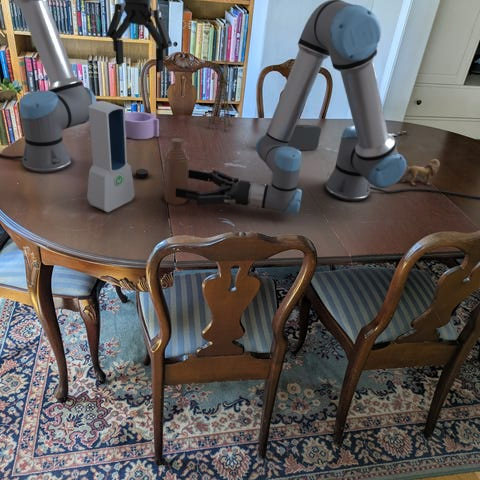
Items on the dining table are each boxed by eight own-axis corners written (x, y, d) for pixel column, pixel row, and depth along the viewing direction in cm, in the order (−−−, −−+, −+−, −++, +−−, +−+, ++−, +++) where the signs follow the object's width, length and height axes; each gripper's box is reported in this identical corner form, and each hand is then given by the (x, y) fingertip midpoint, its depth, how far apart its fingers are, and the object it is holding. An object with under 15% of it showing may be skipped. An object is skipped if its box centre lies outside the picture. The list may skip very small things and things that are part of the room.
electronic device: (105, 214, 135) (97, 112, 119) (87, 205, 138) (77, 105, 122) (135, 199, 144) (132, 102, 128) (117, 191, 147) (112, 96, 131)
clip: (108, 140, 182) (107, 123, 178) (105, 128, 191) (104, 112, 188) (160, 138, 188) (160, 121, 184) (154, 127, 198) (154, 111, 194)
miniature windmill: (225, 131, 202) (231, 58, 186) (207, 128, 203) (211, 56, 187) (230, 124, 210) (236, 54, 194) (212, 121, 211) (216, 51, 195)
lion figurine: (428, 178, 179) (435, 156, 174) (437, 184, 175) (445, 162, 170) (396, 181, 174) (403, 158, 169) (405, 187, 170) (412, 164, 165)
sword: (403, 131, 224) (404, 129, 223) (408, 133, 222) (409, 131, 221) (360, 143, 208) (360, 140, 207) (365, 145, 206) (366, 142, 205)
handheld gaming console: (315, 147, 196) (319, 124, 190) (317, 149, 194) (322, 126, 188) (264, 149, 189) (267, 125, 183) (266, 152, 187) (269, 127, 181)
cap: (133, 176, 157) (133, 171, 156) (141, 172, 161) (140, 167, 160) (143, 180, 156) (143, 175, 155) (150, 176, 159) (150, 170, 158)
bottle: (165, 193, 150) (166, 134, 139) (188, 194, 150) (190, 136, 140) (162, 203, 144) (163, 143, 133) (186, 205, 144) (188, 145, 134)
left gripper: (90, -19, 128) (96, 62, 139) (171, -7, 121) (170, 77, 133) (106, -19, 134) (111, 58, 145) (184, -8, 127) (182, 72, 139)
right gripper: (241, 224, 133) (169, 212, 135) (255, 187, 154) (193, 177, 156) (243, 201, 129) (170, 189, 131) (257, 166, 150) (193, 156, 152)
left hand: (139, 67), depth 139 cm, fingers open, 13 cm apart
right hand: (182, 182), depth 144 cm, fingers open, 13 cm apart
